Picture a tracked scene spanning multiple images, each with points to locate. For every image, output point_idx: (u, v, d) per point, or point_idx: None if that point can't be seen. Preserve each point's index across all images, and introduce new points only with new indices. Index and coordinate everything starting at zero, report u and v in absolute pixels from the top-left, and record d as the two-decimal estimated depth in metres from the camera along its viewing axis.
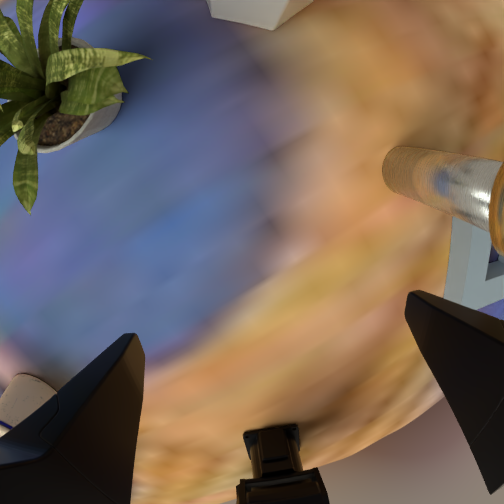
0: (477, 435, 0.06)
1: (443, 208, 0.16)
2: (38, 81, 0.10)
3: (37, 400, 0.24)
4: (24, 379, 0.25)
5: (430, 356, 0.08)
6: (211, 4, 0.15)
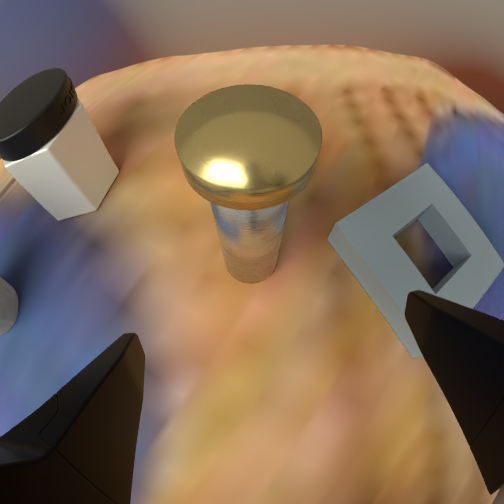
0: (477, 435, 0.06)
1: (240, 244, 0.16)
2: None
3: None
4: None
5: (430, 356, 0.08)
6: (45, 208, 0.23)
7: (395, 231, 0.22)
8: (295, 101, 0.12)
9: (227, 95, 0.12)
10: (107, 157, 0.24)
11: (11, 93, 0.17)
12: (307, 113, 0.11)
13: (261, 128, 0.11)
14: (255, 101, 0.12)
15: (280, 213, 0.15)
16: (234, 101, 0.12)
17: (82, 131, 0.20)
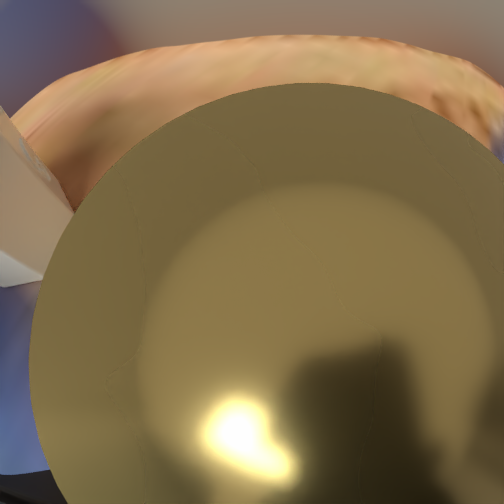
0: None
1: None
2: None
3: None
4: None
5: None
6: None
7: None
8: None
9: (262, 126, 0.03)
10: (53, 203, 0.15)
11: None
12: None
13: (450, 353, 0.02)
14: (394, 170, 0.03)
15: None
16: (304, 162, 0.03)
17: (4, 172, 0.11)
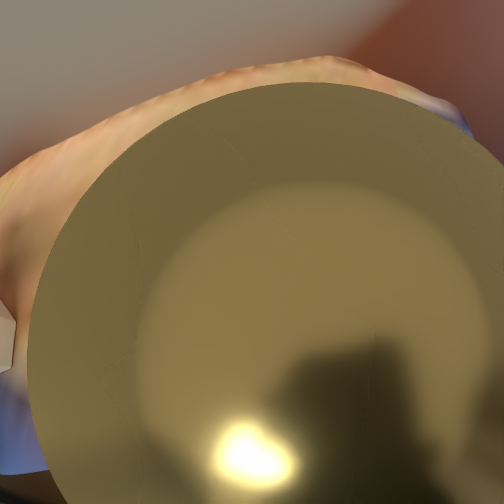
0: None
1: None
2: None
3: None
4: None
5: None
6: None
7: None
8: (503, 180, 0.03)
9: (258, 126, 0.03)
10: None
11: None
12: None
13: (444, 350, 0.02)
14: (388, 168, 0.03)
15: None
16: (298, 159, 0.03)
17: None
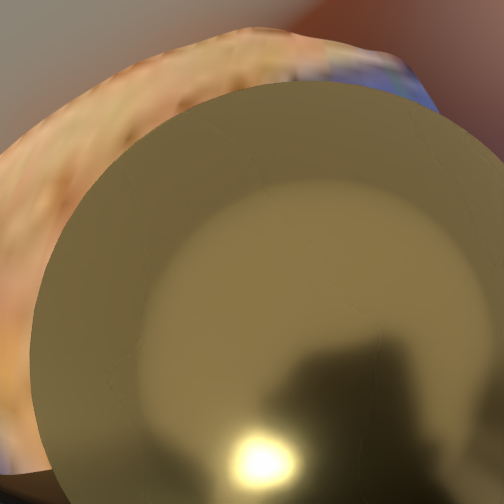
0: None
1: None
2: None
3: None
4: None
5: None
6: None
7: None
8: None
9: (262, 123, 0.03)
10: None
11: None
12: None
13: (449, 345, 0.02)
14: (392, 166, 0.03)
15: None
16: (303, 157, 0.03)
17: None
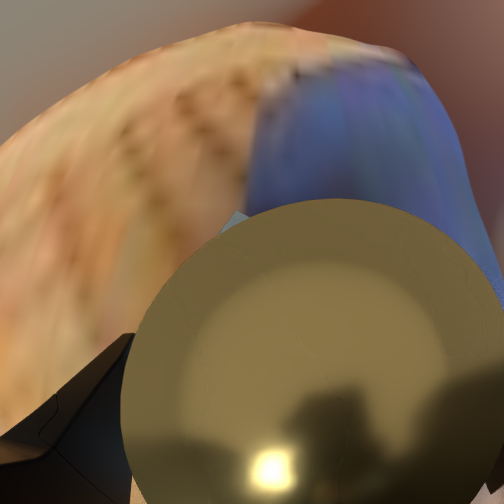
0: None
1: None
2: None
3: None
4: None
5: None
6: None
7: None
8: (472, 277, 0.04)
9: (282, 252, 0.04)
10: None
11: None
12: (495, 324, 0.03)
13: (399, 413, 0.03)
14: (377, 286, 0.04)
15: None
16: (312, 285, 0.04)
17: None
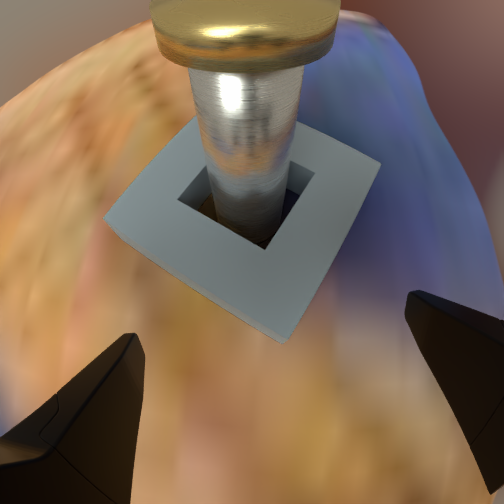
0: (477, 435, 0.06)
1: (233, 167, 0.12)
2: None
3: None
4: None
5: (430, 356, 0.08)
6: None
7: (181, 192, 0.17)
8: None
9: None
10: None
11: None
12: None
13: None
14: None
15: (287, 116, 0.10)
16: None
17: None
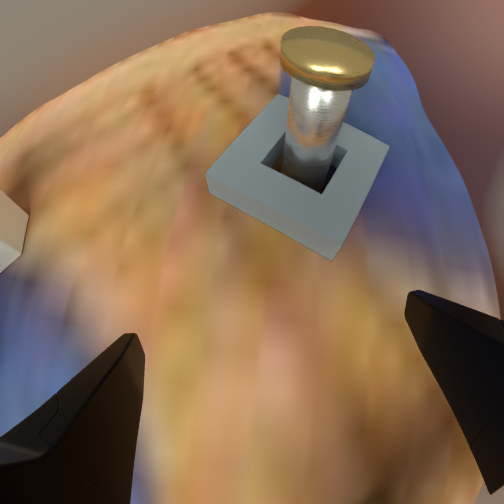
0: (477, 435, 0.06)
1: (310, 139, 0.20)
2: None
3: None
4: None
5: (430, 356, 0.08)
6: None
7: (262, 158, 0.25)
8: (354, 38, 0.15)
9: (310, 30, 0.15)
10: (14, 206, 0.24)
11: None
12: (363, 44, 0.15)
13: (337, 46, 0.14)
14: (329, 34, 0.15)
15: (343, 112, 0.18)
16: (316, 33, 0.15)
17: None
